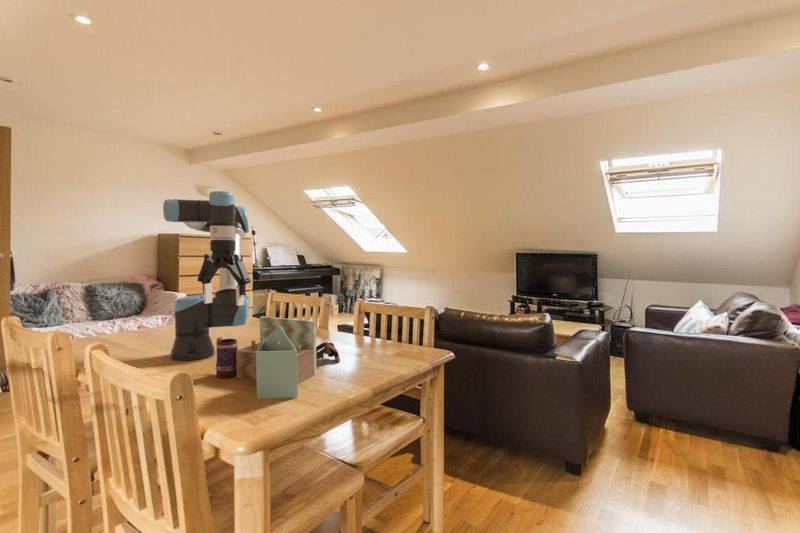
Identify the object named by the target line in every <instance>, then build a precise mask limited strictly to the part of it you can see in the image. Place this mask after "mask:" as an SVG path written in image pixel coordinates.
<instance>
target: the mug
mask: <svg viewBox="0 0 800 533" xmlns="http://www.w3.org/2000/svg"><path fill="white" fill-rule="evenodd" d="M215 344H216V364H215V373H216V374H215V376H216V377H217V379H224V380H225V379H233V378H235V377H237V369H236V350H238V341H237V338H225V339H224V338H223V337H221V336H219V337H217V338H216V343H215Z"/></svg>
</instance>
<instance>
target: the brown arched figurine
mask: <svg viewBox="0 0 800 533" xmlns="http://www.w3.org/2000/svg"><path fill="white" fill-rule="evenodd" d="M324 355H327V357H329V358H333V357H334V360H336V364H339V363H340V361H341V359H340V355H339V352H338V349H337V348H336V347H335V344H334V343H333V342H329V341H328V342H327V341H325V342H321V343H320V344H318V345H316V361H317V360H320V359H322V360H324V358H325V357H324Z"/></svg>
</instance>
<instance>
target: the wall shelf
mask: <svg viewBox="0 0 800 533" xmlns="http://www.w3.org/2000/svg"><path fill="white" fill-rule="evenodd" d="M278 325H280V327H281V328H282V330H283V331H284V333H285V334H286V335H287V337H288V338H289V340H290V341H291V342H292V344H293V345H294V347H295V348H296V350H297V375H298V385H300V384H301V383H303V382H305V381H307V380H309V379H311V378H313V377H315V376H316V375H317V360H316V353H317V352H316V347H317V321H316V320H308V319H295V318H285V317H284V318H283V317H272V316H263V315H261V316H260V317H259V341H260V342H258V343H256V340H251V343H250V344H251V345H249V346H246V347H243V348H239V349H237V350H236V369H237V376H236V379H240V380H241V379H242V380H248V381H255V382H257V379H256V351H257V349H258V348H259V346H260V345H261V344H262V342H263V341H264V340H265V339H266V338H267V337H268V336H269V335H270V334H271V333H272V332H273V331H274V330H275V329H276V327H277V326H278ZM278 342H279V344H280V338H279V341H278Z"/></svg>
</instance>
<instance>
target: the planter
mask: <svg viewBox="0 0 800 533" xmlns="http://www.w3.org/2000/svg"><path fill="white" fill-rule="evenodd" d="M279 338H280V344H279V342H278V341H279ZM256 379H257V381H256V399H259V400H270V399H271V400H274V399H297V398H298V397H299V394H298V389H299V388H298V385H299V384H298V375H297V350H296V348H295V347H294V345H293V344H292V342H291V341H290V340H289V338H288V337H287V335H286V334H285V333H284V331H283V330H282V328H281V327H280V325H278V326H277V327H276V329H275V330H274V331H273V332H272V333H271V334H270V335H269V336H268V337H267V338H266V339H265V340H264V341H263V342H262V344H261V345H260V346H259V348H258V349H257V351H256Z"/></svg>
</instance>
